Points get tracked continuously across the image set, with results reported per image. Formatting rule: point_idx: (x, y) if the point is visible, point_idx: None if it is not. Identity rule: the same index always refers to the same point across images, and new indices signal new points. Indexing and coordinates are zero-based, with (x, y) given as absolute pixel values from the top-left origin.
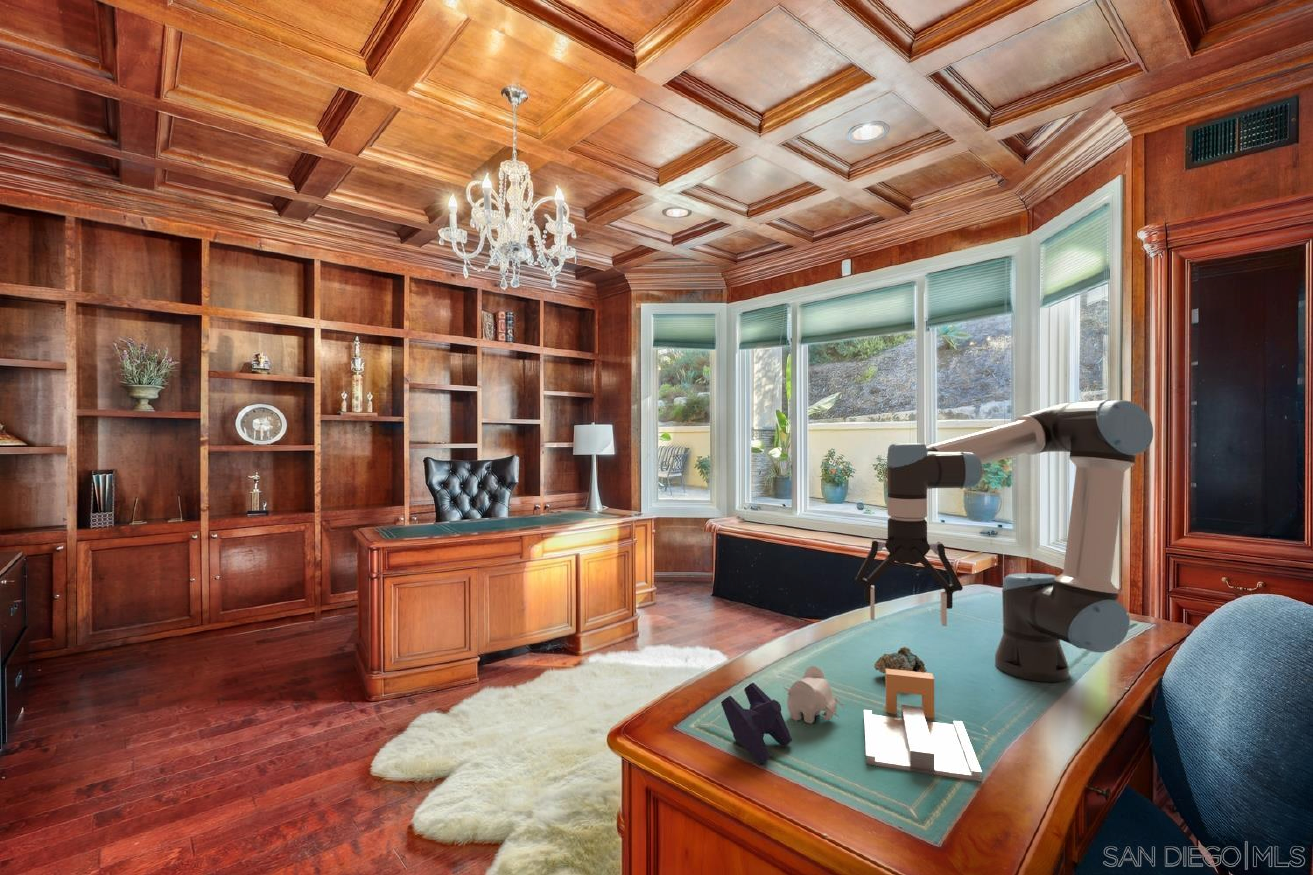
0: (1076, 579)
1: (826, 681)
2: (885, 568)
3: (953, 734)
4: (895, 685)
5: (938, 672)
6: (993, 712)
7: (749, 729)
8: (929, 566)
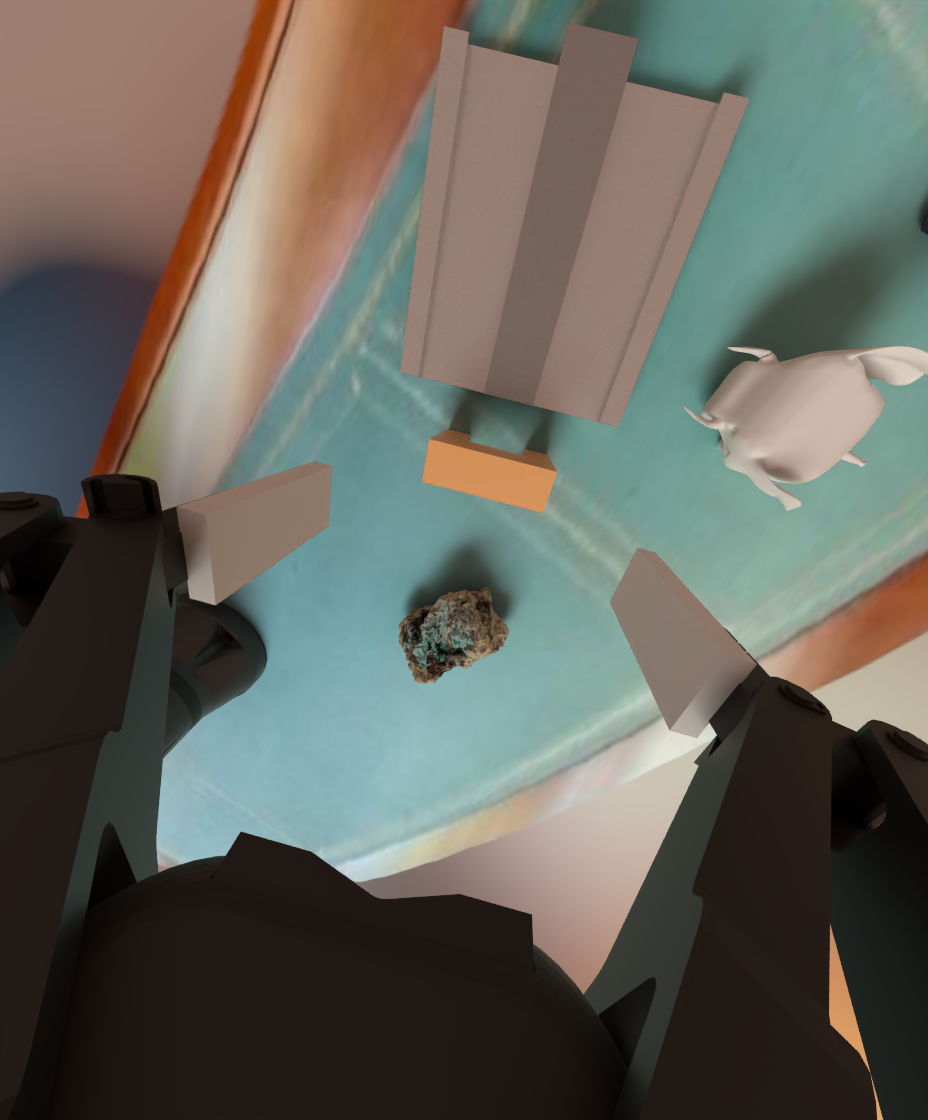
0: None
1: (757, 442)
2: (738, 847)
3: (437, 321)
4: (530, 460)
5: (374, 638)
6: None
7: None
8: (27, 736)
